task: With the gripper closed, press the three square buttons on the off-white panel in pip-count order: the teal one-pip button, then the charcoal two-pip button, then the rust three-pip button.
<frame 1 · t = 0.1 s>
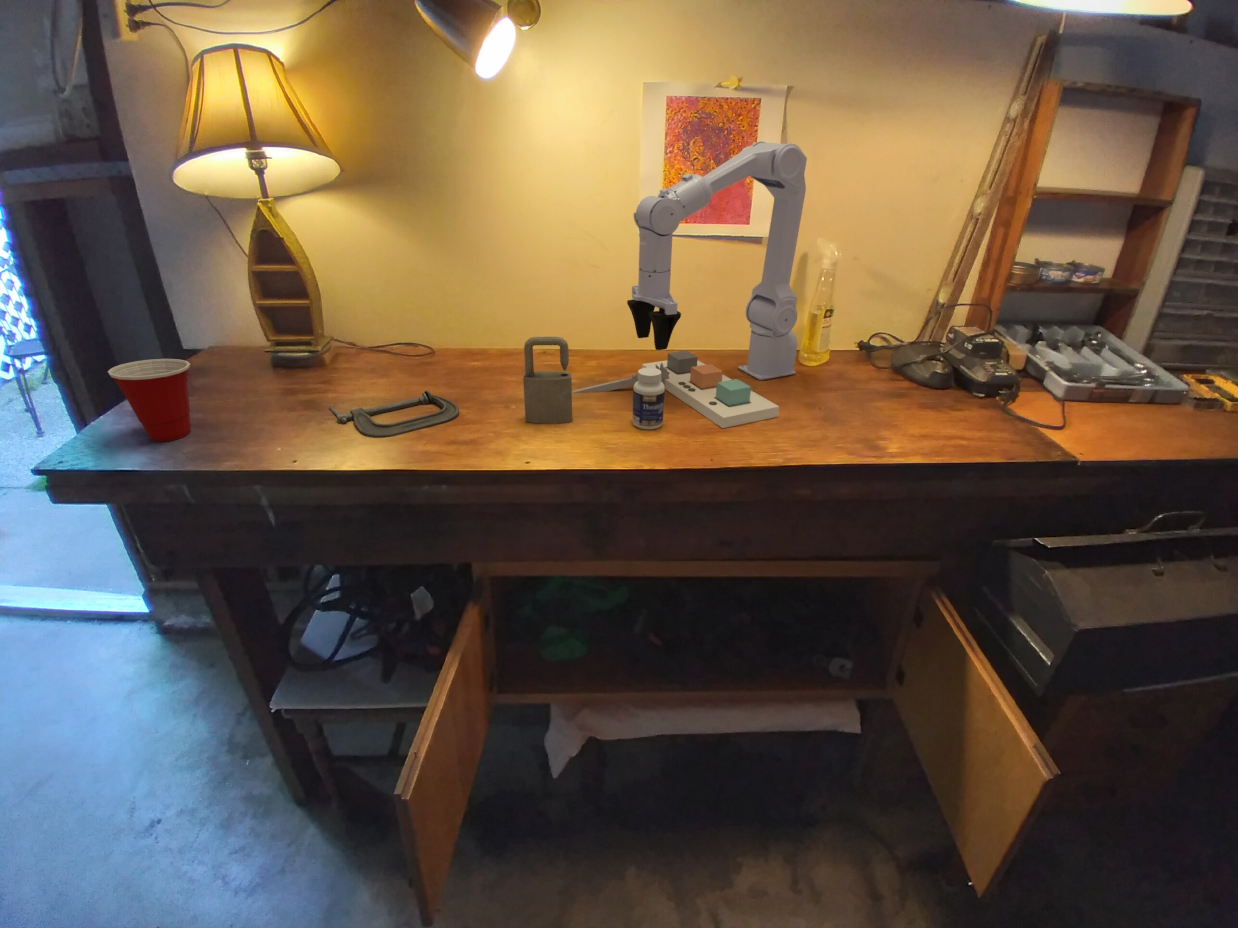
hand: (651, 343, 124), 10 cm above the table, tool pointing down, fingers open, 7 cm apart
button three: (706, 376, 127), point 3 cm above the table, slide at 0.0 cm
padlock: (549, 420, 117), on the table
pill bottle: (647, 425, 116), on the table
button two: (682, 362, 134), point 3 cm above the table, slide at 0.0 cm
button panel: (704, 393, 128), on the table
button one: (733, 392, 120), point 3 cm above the table, slide at 0.0 cm
plastic cup: (172, 434, 109), on the table
c clamp: (397, 418, 118), on the table
caliper: (617, 396, 130), on the table, touching button panel
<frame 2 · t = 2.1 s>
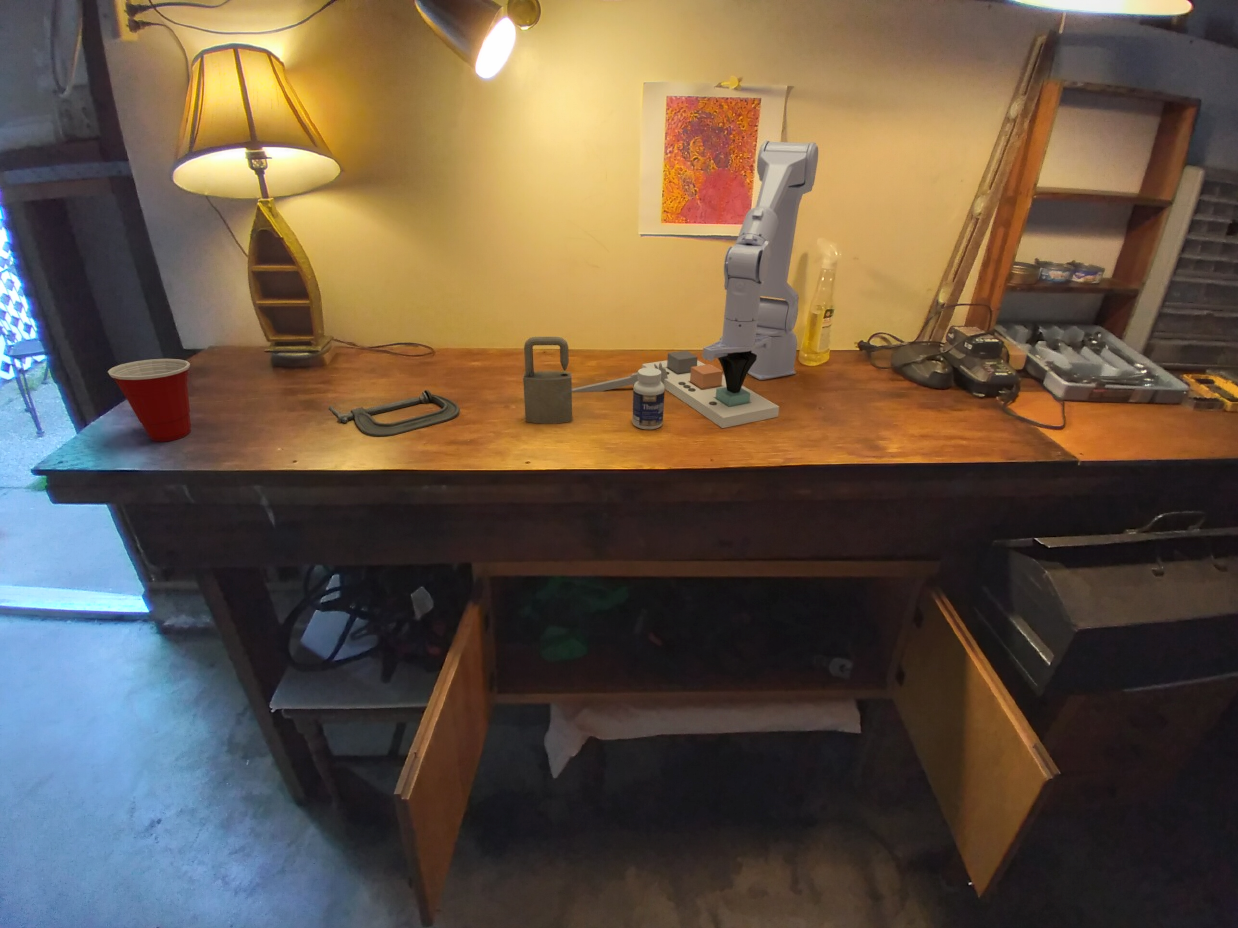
hand: (733, 391, 120), 4 cm above the table, tool pointing down, fingers closed, pressing on button one
button one: (732, 398, 120), point 2 cm above the table, slide at 1.2 cm, touching gripper
everything else where it was.
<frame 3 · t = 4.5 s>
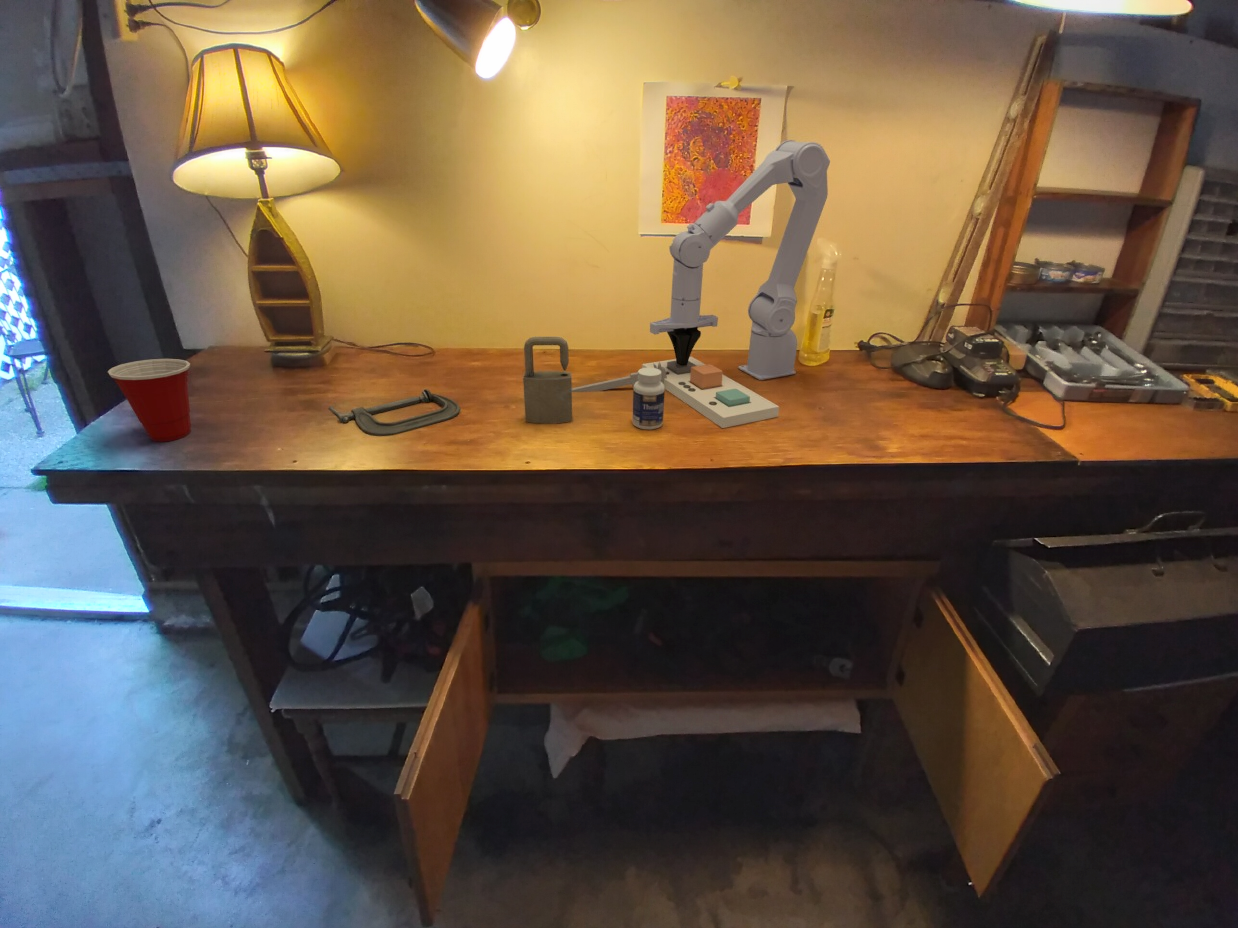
hand: (681, 364, 134), 3 cm above the table, tool pointing down, fingers closed, pressing on button two
button two: (681, 370, 135), point 2 cm above the table, slide at 1.9 cm, touching gripper
button one: (732, 402, 121), point 2 cm above the table, slide at 1.9 cm
everything else where it was.
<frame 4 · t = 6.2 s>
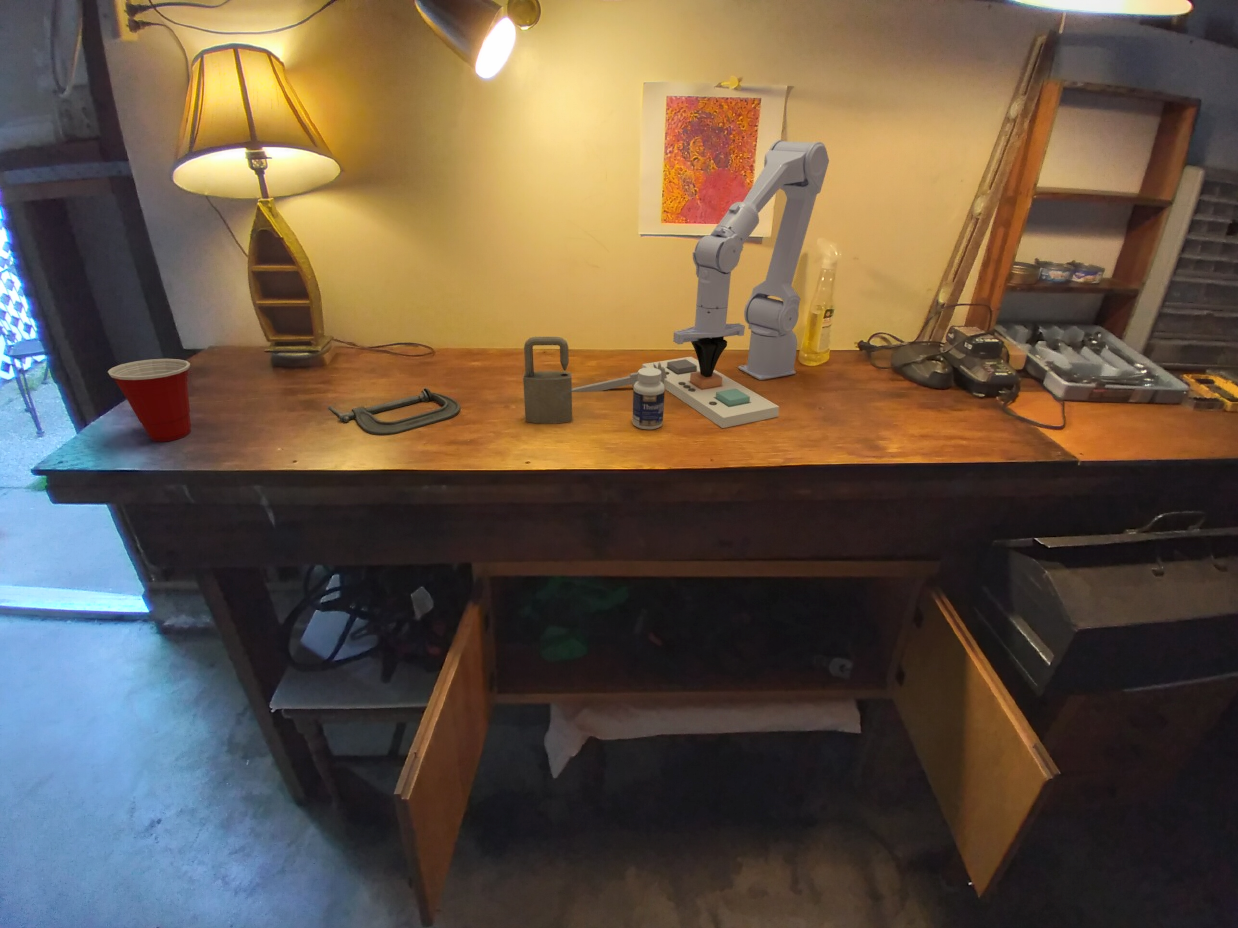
hand: (706, 375, 127), 4 cm above the table, tool pointing down, fingers closed, pressing on button three
button three: (705, 382, 127), point 2 cm above the table, slide at 1.2 cm, touching gripper
button two: (681, 370, 135), point 2 cm above the table, slide at 1.9 cm
everything else where it was.
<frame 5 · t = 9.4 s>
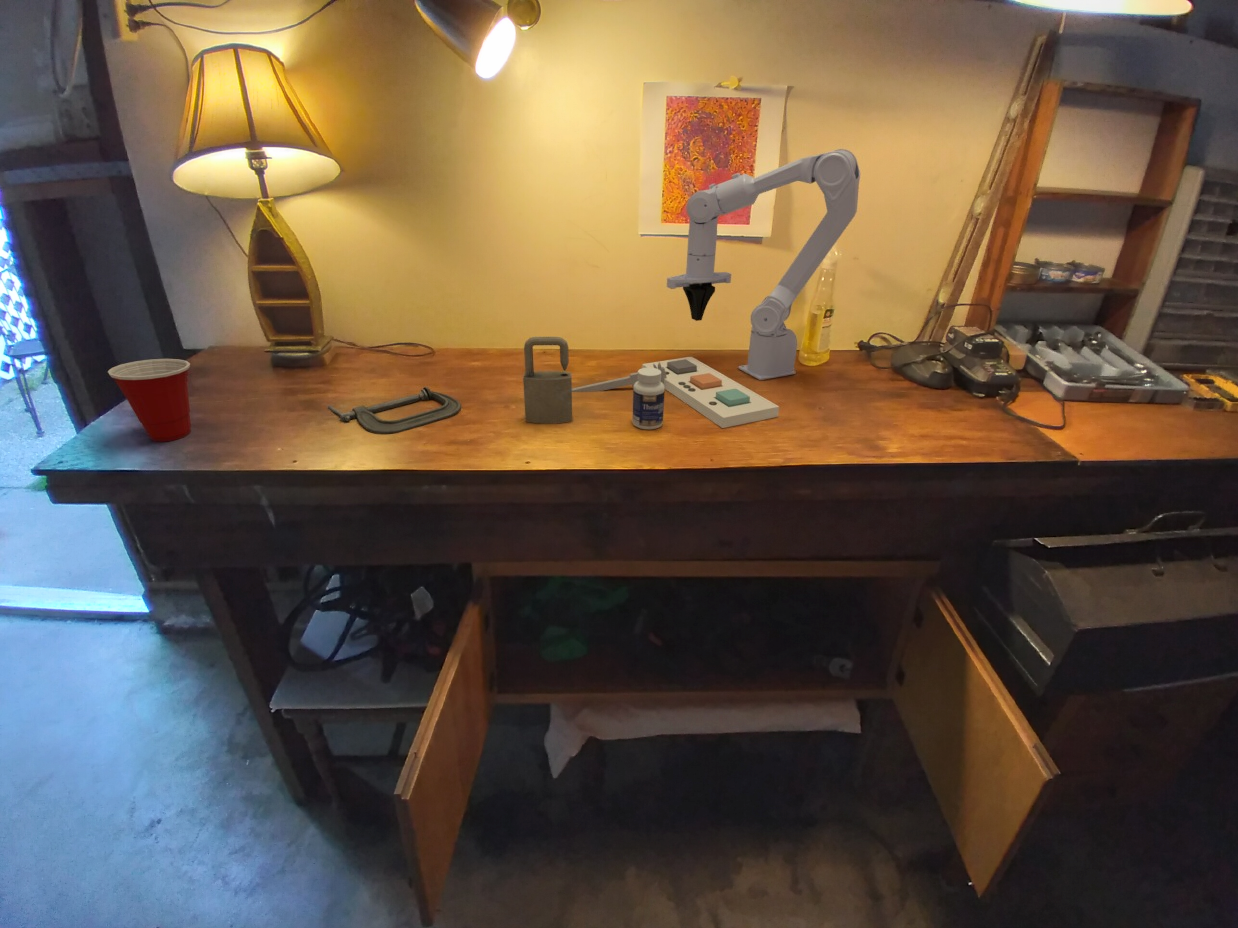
hand: (696, 319, 141), 9 cm above the table, tool pointing down, fingers closed
button three: (705, 385, 128), point 2 cm above the table, slide at 1.9 cm
at the end: button one slide at 1.9 cm; button two slide at 1.9 cm; button three slide at 1.9 cm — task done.
